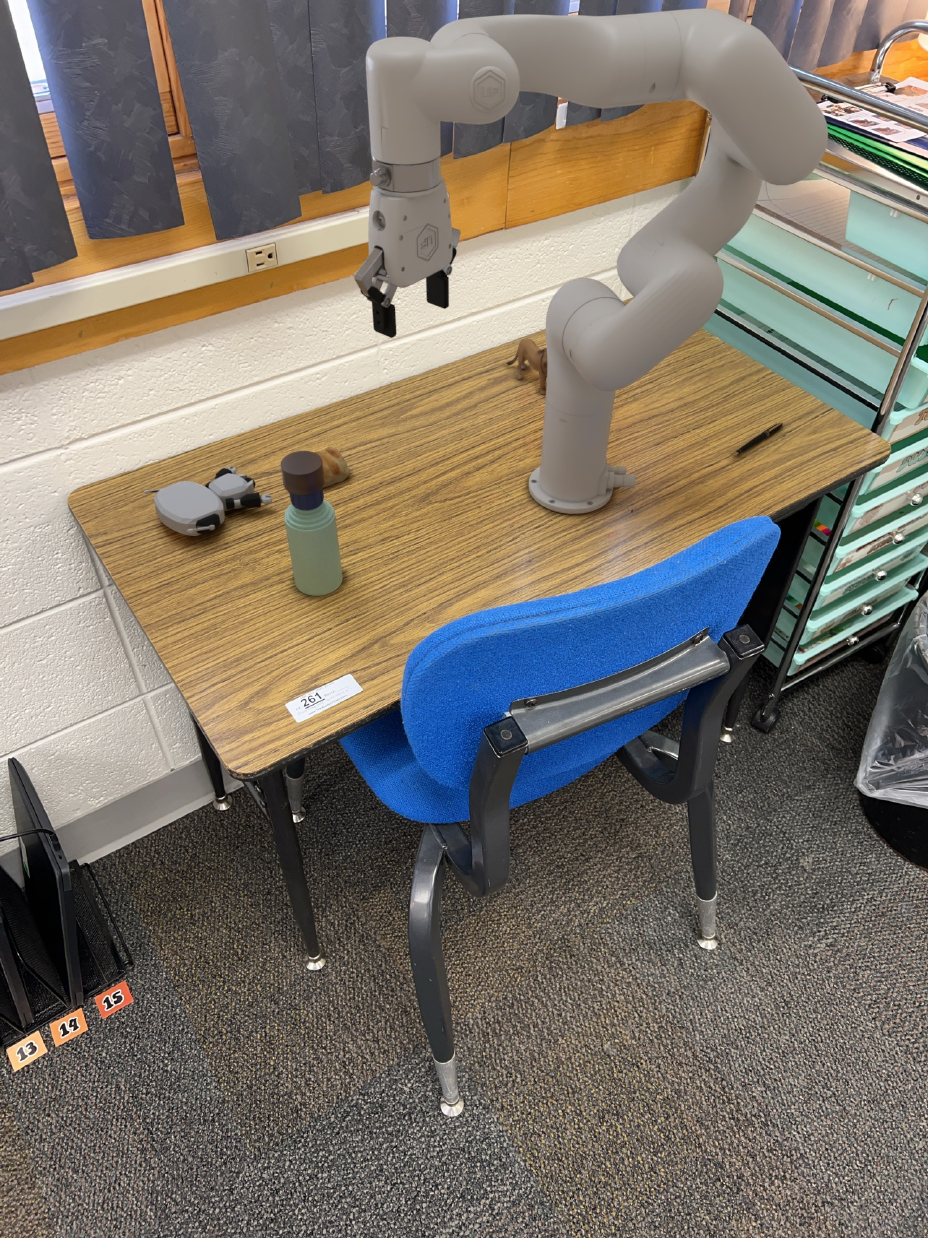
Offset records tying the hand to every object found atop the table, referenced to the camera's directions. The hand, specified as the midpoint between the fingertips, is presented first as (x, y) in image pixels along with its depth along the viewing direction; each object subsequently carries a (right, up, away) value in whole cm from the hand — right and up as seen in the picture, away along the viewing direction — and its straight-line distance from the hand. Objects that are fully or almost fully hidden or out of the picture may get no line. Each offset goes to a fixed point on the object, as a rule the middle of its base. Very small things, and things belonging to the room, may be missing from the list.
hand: (412, 318), depth 112 cm
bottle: (-13, -31, +11) cm, 36 cm away
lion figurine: (+20, +5, +48) cm, 52 cm away
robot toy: (-30, -22, +21) cm, 43 cm away
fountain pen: (+53, -9, +35) cm, 65 cm away
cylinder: (-13, -20, 0) cm, 24 cm away
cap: (-13, -20, 0) cm, 24 cm away
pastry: (-15, -15, +28) cm, 35 cm away
